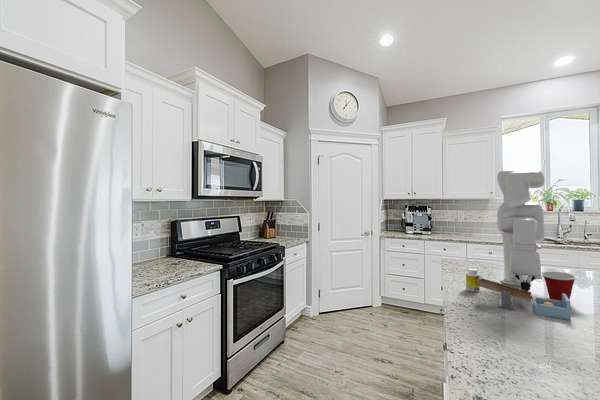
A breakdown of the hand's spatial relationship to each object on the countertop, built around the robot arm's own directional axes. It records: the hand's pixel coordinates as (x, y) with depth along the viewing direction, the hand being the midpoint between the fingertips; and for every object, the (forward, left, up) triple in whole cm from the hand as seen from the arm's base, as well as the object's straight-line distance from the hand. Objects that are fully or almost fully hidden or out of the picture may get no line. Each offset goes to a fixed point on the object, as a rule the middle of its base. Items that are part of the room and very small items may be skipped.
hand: (525, 291), depth 115 cm
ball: (+6, +7, -3) cm, 10 cm away
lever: (+4, -8, 0) cm, 8 cm away
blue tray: (+6, +7, -5) cm, 11 cm away
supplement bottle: (-9, -20, -6) cm, 22 cm away
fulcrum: (+6, -7, -5) cm, 11 cm away
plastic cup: (-11, +11, -6) cm, 17 cm away
